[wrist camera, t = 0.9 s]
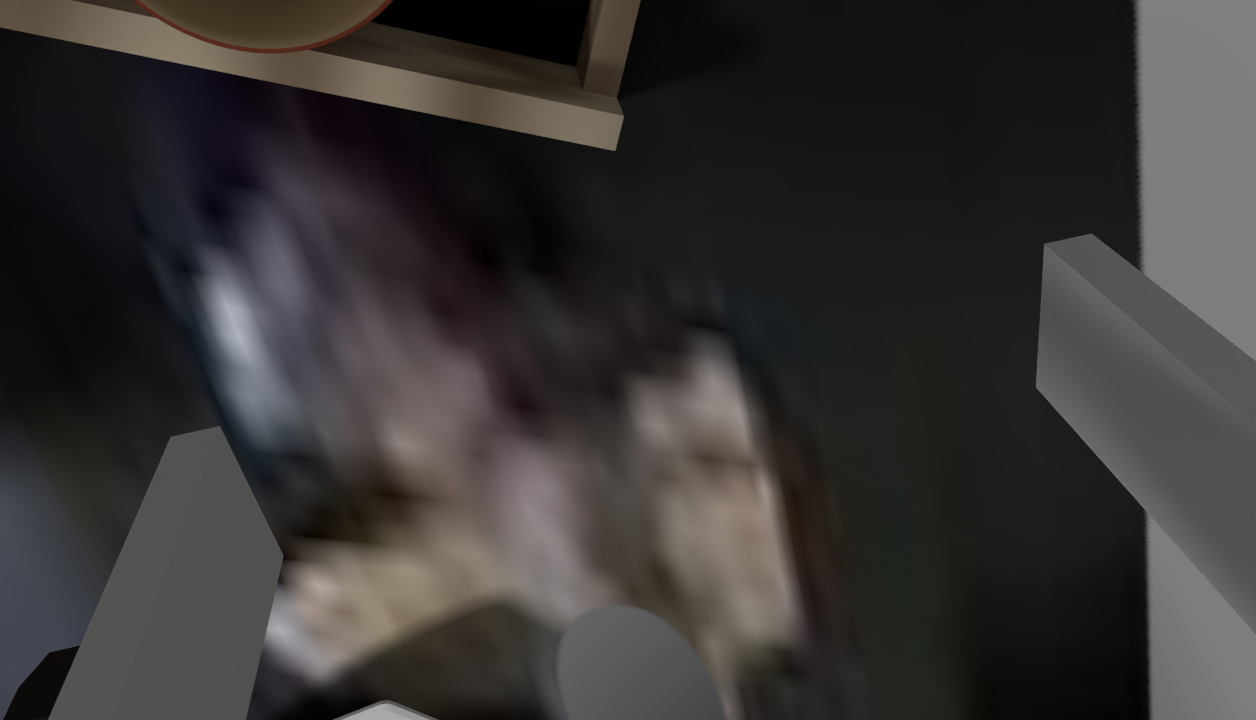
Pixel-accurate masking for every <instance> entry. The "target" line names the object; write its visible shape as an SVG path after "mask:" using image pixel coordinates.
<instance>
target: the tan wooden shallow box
mask: <svg viewBox="0 0 1256 720" xmlns="http://www.w3.org/2000/svg"><path fill="white" fill-rule="evenodd" d="M640 1H641V0H590V4H589V8H588V13H587V17H586V22H585V26H584V31H583V35H582V40H581V44H580V49H579V53H578V58H577V62H576V67H573V66H569V65H564V64H560V63H555V62H551V61H546V60H542V59H537V58H532V57H528V56H523V55H519V54H514V53H510V52H505V51H500V50H496V49H491V48H487V47H482V46H478V45H473V44H468V43H464V42H459V41H455V40H450V39H446V38H441V37H436V36H432V35H427V34H423V33H418V32H414V31H409V30H404V29H400V28H395V27H391V26H386V25H382V24H377V23H373V22H369V23H368V24H366V25H365V26H363V27H362V28H360V29H359V30H357V31H356V32H354V33H352V34H350V35H348V36H346V37H344V38H342V39H340V40H337V41H335V42H332V43H329V44H327V45H324V46H320V47H317V48H313V49H309V50H304V51H297V52H291V53H275V54H272V53H253V52H245V51H238V50H233V49H229V48H224V47H220V46H217V45H214V44H211V43H207V42H204V41H201V40H199V39H197V38H194V37H192V36H189V35H187V34H185V33H183V32H181V31H179V30H177V29H175V28H173V27H171V26H169V25H167V24H165V23H164V22H162V21H161V20H159V19H157V18H156V17H154V16H153V15H151V14H150V13H148V12H147V11H145V10H144V9H143V8H141V7H140V6H139V5H137V4H136V3H135V2H133V1H132V0H0V27H1V28H6V29H11V30H16V31H21V32H26V33H31V34H36V35H41V36H46V37H51V38H56V39H61V40H66V41H71V42H76V43H81V44H86V45H91V46H96V47H101V48H106V49H110V50H115V51H120V52H125V53H130V54H135V55H140V56H145V57H150V58H155V59H160V60H165V61H170V62H175V63H180V64H185V65H190V66H195V67H200V68H205V69H210V70H215V71H220V72H225V73H230V74H235V75H240V76H245V77H250V78H255V79H260V80H265V81H270V82H275V83H280V84H285V85H290V86H295V87H300V88H305V89H310V90H315V91H320V92H325V93H330V94H335V95H340V96H344V97H349V98H354V99H359V100H364V101H369V102H374V103H379V104H384V105H389V106H394V107H399V108H404V109H409V110H414V111H419V112H424V113H429V114H434V115H439V116H444V117H449V118H454V119H459V120H464V121H469V122H474V123H479V124H484V125H489V126H494V127H499V128H504V129H509V130H514V131H519V132H524V133H529V134H534V135H539V136H544V137H549V138H554V139H559V140H564V141H569V142H574V143H578V144H583V145H588V146H593V147H598V148H603V149H608V150H613V151H615V150H616V146H617V142H618V138H619V134H620V130H621V126H622V122H623V118H624V115H623V112H622V110H621V107H620V105H619V102H618V100H617V95H618V91H619V87H620V83H621V79H622V75H623V71H624V66H625V62H626V58H627V54H628V50H629V46H630V42H631V38H632V34H633V30H634V26H635V22H636V17H637V13H638V9H639V5H640Z"/></svg>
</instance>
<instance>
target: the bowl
mask: <svg viewBox="0 0 1256 720" xmlns="http://www.w3.org/2000/svg"><path fill="white" fill-rule="evenodd" d="M334 720H438V719H435V718H433V717H430V716H428V715H425V714H423V713H420V712H418V711H415V710H413V709H411V708H408V707H406V706H403V705H401V704H398V703H396V702H393V701H389V700H384V701H380V702H377V703H375V704H372V705H369V706H367V707H364V708H362V709H359V710H357V711H354V712H352V713H349V714H346V715H344V716H341V717H339V718H336V719H334Z"/></svg>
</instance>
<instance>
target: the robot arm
mask: <svg viewBox="0 0 1256 720" xmlns="http://www.w3.org/2000/svg"><path fill="white" fill-rule="evenodd" d="M1036 388H1037V389H1038V390H1039V391H1040V392H1041V393H1042V394H1043V395H1044V397H1045V398H1046V399H1047V400H1048V401H1049V402H1050V403H1051V404H1052V406H1053V407H1054V408H1055V409H1056V410H1057V411H1058V412H1059V413H1060V415H1061V416H1062V417H1063V418H1064V419H1065V420H1066V421H1067V422H1068V424H1069V425H1070V426H1071V427H1072V428H1073V429H1074V430H1075V431H1076V433H1077V434H1078V435H1079V436H1080V437H1081V438H1082V439H1083V440H1084V442H1085V443H1086V444H1087V445H1088V446H1089V447H1090V448H1091V449H1092V450H1093V452H1094V453H1095V454H1096V455H1097V456H1098V457H1099V458H1100V459H1101V461H1102V462H1103V463H1104V464H1105V465H1106V466H1107V467H1108V468H1109V470H1110V471H1111V472H1112V473H1113V474H1114V475H1115V476H1116V477H1117V479H1118V480H1119V481H1120V482H1121V483H1122V484H1123V485H1124V486H1125V488H1126V489H1127V490H1128V491H1129V492H1130V493H1131V494H1132V495H1133V497H1134V498H1135V499H1136V500H1137V501H1138V502H1139V503H1140V504H1141V506H1142V507H1143V508H1144V509H1145V510H1146V511H1147V512H1148V513H1149V515H1150V516H1151V517H1152V518H1153V519H1154V520H1155V521H1156V522H1157V524H1158V525H1159V526H1160V527H1161V528H1162V529H1163V530H1164V531H1165V532H1166V534H1167V535H1168V536H1169V537H1170V538H1171V539H1172V540H1173V542H1174V543H1175V544H1176V545H1177V546H1178V547H1179V548H1180V549H1181V550H1182V552H1183V553H1184V554H1185V555H1186V556H1187V557H1188V558H1189V559H1190V561H1191V562H1192V563H1193V564H1194V565H1195V566H1196V567H1197V568H1198V570H1199V571H1200V572H1201V573H1202V574H1203V575H1204V576H1205V577H1206V579H1207V580H1208V581H1209V582H1210V583H1211V584H1212V585H1213V586H1214V588H1215V589H1216V590H1217V591H1218V592H1219V593H1220V594H1221V595H1222V597H1223V598H1224V599H1225V600H1226V601H1227V602H1228V603H1229V604H1230V606H1231V607H1232V608H1233V609H1234V610H1235V611H1236V612H1237V613H1238V615H1239V616H1240V617H1241V618H1242V619H1243V620H1244V621H1245V622H1246V623H1247V624H1248V626H1249V627H1250V628H1251V629H1252V630H1253V631H1254V632H1255V634H1256V361H1255V360H1253V359H1252V358H1251V357H1250V356H1248V355H1247V354H1245V353H1244V352H1243V351H1242V350H1241V349H1239V348H1238V347H1237V346H1235V345H1234V344H1233V343H1232V342H1230V341H1229V340H1228V339H1226V338H1225V337H1224V336H1223V335H1221V334H1220V333H1218V332H1217V331H1216V330H1215V329H1214V328H1212V327H1211V326H1210V325H1208V324H1207V323H1206V322H1205V321H1203V320H1202V319H1200V318H1199V317H1198V316H1197V315H1196V314H1194V313H1193V312H1192V311H1190V310H1189V309H1188V308H1187V307H1185V306H1184V305H1183V304H1181V303H1180V302H1179V301H1178V300H1176V299H1175V298H1174V297H1172V296H1171V295H1170V294H1169V293H1167V292H1166V291H1165V290H1163V289H1162V288H1161V287H1159V286H1158V285H1157V284H1156V283H1154V282H1153V281H1151V280H1150V279H1149V278H1148V277H1147V276H1145V275H1144V274H1143V273H1141V272H1140V271H1139V270H1138V269H1136V268H1135V267H1134V266H1132V265H1131V264H1130V263H1129V262H1127V261H1126V260H1125V259H1123V258H1122V257H1121V256H1120V255H1118V254H1117V253H1116V252H1114V251H1113V250H1112V249H1111V248H1109V247H1108V246H1107V245H1105V244H1104V243H1103V242H1102V241H1100V240H1099V239H1098V238H1096V237H1095V236H1094V235H1093V234H1088V235H1083V236H1078V237H1074V238H1069V239H1065V240H1060V241H1056V242H1051V243H1047V244H1044V258H1043V276H1042V293H1041V310H1040V328H1039V345H1038V362H1037V380H1036ZM282 560H283V554H282V552H281V550H280V548H279V546H278V544H277V542H276V540H275V538H274V536H273V534H272V532H271V530H270V528H269V526H268V523H267V521H266V519H265V517H264V515H263V513H262V511H261V509H260V507H259V505H258V503H257V501H256V499H255V497H254V495H253V493H252V491H251V489H250V487H249V485H248V483H247V481H246V479H245V477H244V475H243V472H242V470H241V468H240V466H239V464H238V462H237V460H236V458H235V456H234V454H233V452H232V450H231V448H230V446H229V444H228V442H227V440H226V438H225V436H224V434H223V432H222V430H221V428H220V426H219V427H214V428H210V429H205V430H201V431H196V432H191V433H187V434H182V435H178V436H173V437H171V438H170V440H169V442H168V444H167V447H166V449H165V451H164V454H163V456H162V458H161V461H160V463H159V465H158V468H157V470H156V472H155V474H154V477H153V479H152V481H151V484H150V486H149V488H148V491H147V493H146V495H145V497H144V500H143V502H142V504H141V507H140V509H139V511H138V514H137V516H136V518H135V520H134V523H133V525H132V527H131V530H130V532H129V534H128V537H127V539H126V541H125V544H124V546H123V548H122V550H121V553H120V555H119V557H118V560H117V562H116V564H115V567H114V569H113V571H112V573H111V576H110V578H109V580H108V583H107V585H106V587H105V590H104V592H103V594H102V597H101V599H100V601H99V603H98V606H97V608H96V610H95V613H94V615H93V617H92V620H91V622H90V624H89V626H88V629H87V631H86V633H85V636H84V638H83V640H82V643H81V645H80V646H76V647H72V648H68V649H63V650H59V651H54V652H50V653H49V654H48V655H47V656H46V657H45V658H44V659H43V661H42V662H41V663H40V664H39V665H38V666H37V667H36V668H35V670H34V671H33V672H32V673H31V674H30V675H29V676H28V678H27V679H26V680H25V681H24V682H23V683H22V684H21V686H20V687H19V688H18V690H17V692H16V694H15V696H14V698H13V700H12V702H11V704H10V706H9V709H8V711H7V713H6V715H5V717H4V719H3V720H246V716H247V712H248V708H249V703H250V699H251V695H252V690H253V686H254V682H255V677H256V673H257V669H258V664H259V660H260V656H261V651H262V647H263V643H264V638H265V634H266V629H267V625H268V621H269V616H270V612H271V608H272V603H273V599H274V595H275V590H276V586H277V582H278V577H279V573H280V569H281V564H282Z"/></svg>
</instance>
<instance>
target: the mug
mask: <svg viewBox="0 0 1256 720" xmlns="http://www.w3.org/2000/svg"><path fill="white" fill-rule="evenodd" d="M132 1H133V2H135V3H136V4H137V5H139V6H140V7H141V8H143V9H144V10H145V11H147V12H148V13H150V14H151V15H153V16H154V17H156V18H157V19H159V20H161V21H162V22H164V23H165V24H167V25H169V26H171V27H173V28H175V29H177V30H179V31H181V32H183V33H185V34H187V35H189V36H192V37H194V38H197V39H199V40H201V41H204V42H207V43H211V44H214V45H217V46H220V47H224V48H229V49H233V50H238V51H245V52H253V53H272V54H275V53H291V52H297V51H304V50H309V49H313V48H317V47H320V46H324V45H327V44H329V43H332V42H335V41H337V40H340V39H342V38H344V37H346V36H348V35H350V34H352V33H354V32H356V31H357V30H359V29H360V28H362V27H363V26H365V25H366V24H368V23H369V22H370V21H372V20H373V19H374V18H375V17H377V16H378V15H379V14H380V13H381V12H382V11H383V10H384V9H385V8H386V7H387V6H388V5H389V4H390V3H391V2H392V1H393V0H132Z"/></svg>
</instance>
